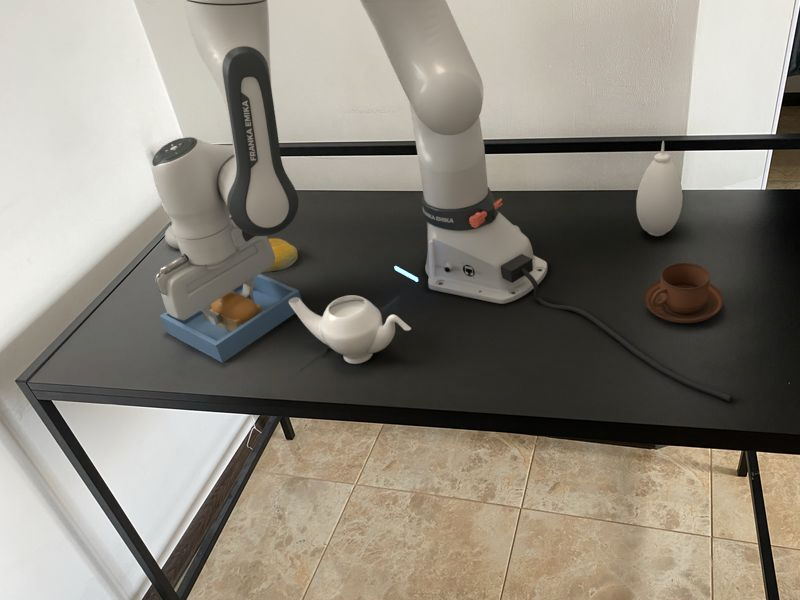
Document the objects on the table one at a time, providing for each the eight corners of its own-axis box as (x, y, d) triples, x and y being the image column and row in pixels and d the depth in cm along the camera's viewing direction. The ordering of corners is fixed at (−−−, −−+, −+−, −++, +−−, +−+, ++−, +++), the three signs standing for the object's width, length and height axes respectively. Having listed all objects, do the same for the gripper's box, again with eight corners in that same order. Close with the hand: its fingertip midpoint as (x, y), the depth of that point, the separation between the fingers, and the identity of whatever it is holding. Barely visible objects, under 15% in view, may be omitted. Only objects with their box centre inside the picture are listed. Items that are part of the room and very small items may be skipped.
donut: (159, 253, 151) (204, 252, 149) (153, 238, 149) (199, 237, 147) (181, 228, 159) (224, 227, 157) (176, 214, 157) (219, 212, 155)
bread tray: (304, 309, 130) (299, 290, 127) (223, 365, 120) (215, 345, 117) (248, 285, 138) (242, 266, 135) (167, 335, 128) (159, 315, 125)
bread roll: (270, 279, 139) (264, 261, 136) (247, 262, 144) (241, 244, 142) (307, 261, 143) (303, 242, 140) (284, 245, 148) (279, 227, 146)
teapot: (405, 381, 112) (395, 332, 106) (288, 364, 118) (273, 317, 112) (427, 342, 119) (419, 294, 113) (316, 328, 125) (303, 282, 119)
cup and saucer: (696, 339, 113) (700, 306, 109) (629, 312, 120) (630, 280, 116) (736, 302, 119) (740, 269, 115) (669, 278, 126) (672, 247, 122)
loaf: (268, 321, 127) (260, 296, 124) (243, 338, 124) (234, 312, 121) (228, 302, 133) (219, 277, 130) (203, 317, 130) (193, 293, 127)
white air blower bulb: (687, 231, 137) (696, 138, 126) (661, 249, 133) (668, 154, 122) (652, 219, 142) (658, 127, 131) (626, 235, 138) (630, 143, 127)
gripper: (163, 278, 111) (194, 350, 120) (268, 218, 123) (289, 288, 132) (140, 267, 115) (171, 338, 123) (244, 210, 126) (266, 278, 135)
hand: (233, 312), depth 127 cm, fingers closed on loaf, 5 cm apart
